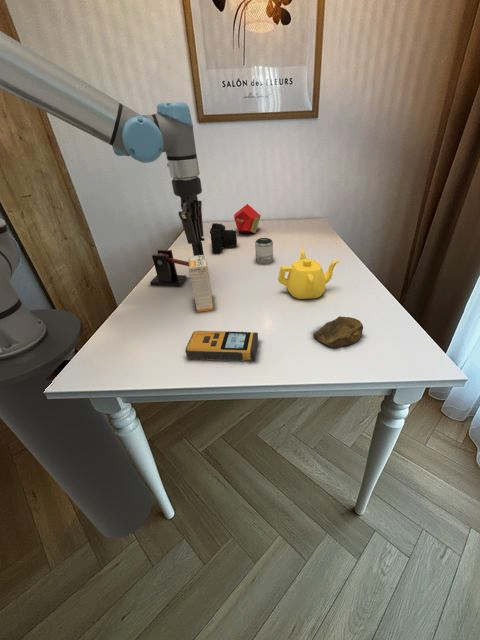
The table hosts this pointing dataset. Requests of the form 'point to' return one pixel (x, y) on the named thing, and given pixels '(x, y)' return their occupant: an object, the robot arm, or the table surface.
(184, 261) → the lever switch
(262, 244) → the glass jar
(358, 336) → the decorative stone
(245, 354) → the electronic device
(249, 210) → the red pentagonal block
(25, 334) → the robot arm
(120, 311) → the table surface
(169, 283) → the lever bracket
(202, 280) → the supplement box
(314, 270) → the teapot
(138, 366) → the table surface
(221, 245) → the film camera
